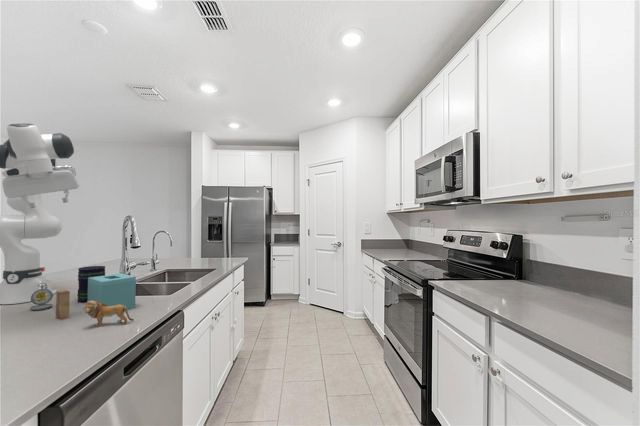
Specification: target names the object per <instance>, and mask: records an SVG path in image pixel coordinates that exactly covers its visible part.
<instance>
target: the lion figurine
mask: <svg viewBox="0 0 640 426" xmlns="http://www.w3.org/2000/svg"><path fill="white" fill-rule="evenodd" d="M83 307H84V308H83V312H84V314H85V315H87V316H90V317H91V318H92V319H96V321H97V324H96V325H95V327H96V328H99V327H101V326H102V324H103V319H104V318H108V317H113V316H115V315H116V316H117V317H118V318H119V320H117V323H122V325H127V324H128V319H129V321H132V322H133V321H134V320H135V319H133V318H131V317H130V315H129V310H127V309H126V307H125V306H123V305H115V306H107V305H105V304H104V303H100V302H98V301H89V302H87V303H84V306H83ZM124 314H126V316H125V315H124Z"/></svg>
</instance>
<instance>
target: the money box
mask: <svg viewBox="0 0 640 426" xmlns="http://www.w3.org/2000/svg"><path fill="white" fill-rule="evenodd" d="M136 286H137V277H136V276H134V275H130V274H126V273H120V272H119V273H115V274H105V276H97V277H90V278H88V299H87V302H89V301H98V302H100V303H104V304H105V305H107V306H115V305H123V306H125V307H126V309H128V310H131V309H135V308H136V293H137V292H136Z"/></svg>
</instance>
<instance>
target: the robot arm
mask: <svg viewBox="0 0 640 426" xmlns="http://www.w3.org/2000/svg"><path fill="white" fill-rule="evenodd" d="M6 129H7V130H6V132H7V136H8V139H7V140H6V141H5V142H3V144H0V169H4V170H2V171H1V175H2V176H3V177H4V178H3V179H2V183H1V184H2V189H3V192H4V196H5V197H6V199H7V200H6V203H7V205H8V207H10V208H11V209H12V210H15V211H17V212H21V213H22V214H0V248H1V250H2V253H3V257H4V259H3V260H4V270H3V271H2V279H3V281H1V282H0V305H14V304H23V303H29V302H32V301H31V295H32V294H33V293H34V292H35V291H37V290H39V289H41V287H39V286H42V285H43V286H44V287H43V289H49V290H50V291H51V292H52V294H53V295H55V294H56V292H57V291H58V290H57V289H52V282H51V281H50V280H49V279H47V278H46V277H45V276H44V275H43V272H45V271H46V268H45V267H40V262H41V260H40V259H41V253H40V251H39V250H38V249H37V248H35V247H32V246H29V245H26V244H23V243H22V242H21V240H25V239H26V240H31V239H32V240H33V239H48V238H53V237H57V236H58V235H59V234H60V233H61V231H62V229H63V224H62V222H61V220H60V219H59V218H58V217H56V216H55V215H53V214H51V213H50V212H48V211H47V210H46V209H45V208H44V206H43V204H42V194H43V195H44V194H49V193H56V192H63V193H64V194H65V196H64V197H62V198H61V200H62V203H69V198H68V197H69V194H70V190H71V191H72V190H77V189H79V187H80V184H79V182H78V179H77V178H76V175H77V172H76V170H75V168H74V167H72V166H69V165H62V166H58V159H70V158H71V157H72V156H73V154H75V148H74V144H73V141H72V140H71V138H70V137H69V136H67V135H65V134H64V133H61V132H58V133H47V134H45V133H44V134H41V132H40V130H39V128H38V127H37V125H36V124H33V123H24V122H23V123H11V124H10V123H9V124H8V125H6ZM40 283H42V284H40ZM44 283H46V284H47V285H46V284H44ZM39 284H40V285H39ZM38 285H39V286H38ZM45 285H46V286H45ZM45 296H47V297H48V295H47V294H45ZM47 297H45V298H47ZM36 299H37V298H36ZM38 301H42V300H41V299H40V298H39V300H38Z"/></svg>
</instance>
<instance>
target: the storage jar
mask: <svg viewBox="0 0 640 426" xmlns="http://www.w3.org/2000/svg"><path fill="white" fill-rule="evenodd" d="M105 269H106V266H105V265H91V266H83V267H79V268H78V272H77V277H78V278H77V281H78V289H77V293H76V294H77V303H78V304H85V303H87V299H88V278H90V277H97V276H105V275H106V270H105Z"/></svg>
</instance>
